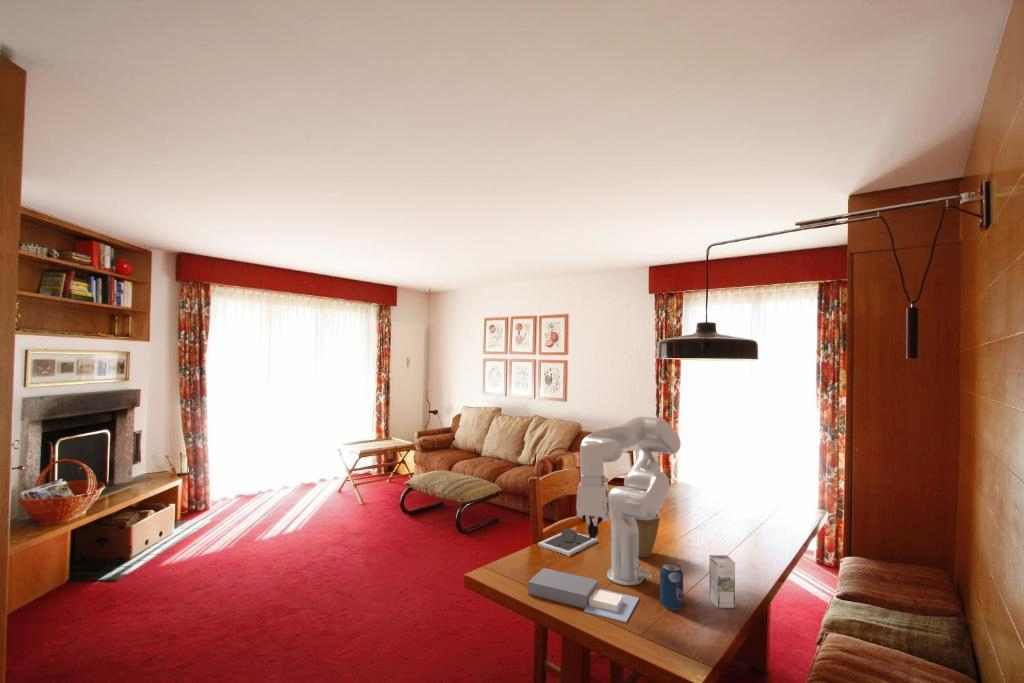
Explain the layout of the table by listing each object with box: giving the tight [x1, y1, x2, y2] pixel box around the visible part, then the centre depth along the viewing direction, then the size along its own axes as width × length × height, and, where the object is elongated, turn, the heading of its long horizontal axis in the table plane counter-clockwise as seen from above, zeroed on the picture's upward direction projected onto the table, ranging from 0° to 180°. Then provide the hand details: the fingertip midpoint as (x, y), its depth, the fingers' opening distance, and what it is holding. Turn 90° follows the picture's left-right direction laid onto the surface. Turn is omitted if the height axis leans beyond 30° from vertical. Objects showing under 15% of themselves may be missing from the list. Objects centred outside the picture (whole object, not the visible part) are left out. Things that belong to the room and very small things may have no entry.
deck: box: [527, 567, 599, 610], centre depth 157 cm, size 20×12×4 cm, turn 62°
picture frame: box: [537, 528, 599, 557], centre depth 200 cm, size 16×3×21 cm
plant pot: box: [635, 512, 661, 559], centre depth 190 cm, size 15×15×16 cm
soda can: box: [659, 562, 685, 611], centre depth 149 cm, size 7×7×12 cm
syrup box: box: [708, 554, 736, 609], centre depth 150 cm, size 6×6×14 cm
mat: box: [583, 588, 640, 624], centre depth 149 cm, size 13×16×1 cm
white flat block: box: [589, 589, 623, 612], centre depth 149 cm, size 9×7×2 cm
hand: (593, 536), depth 154 cm, fingers closed
